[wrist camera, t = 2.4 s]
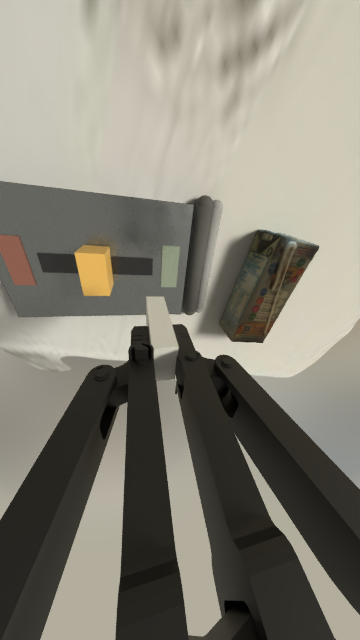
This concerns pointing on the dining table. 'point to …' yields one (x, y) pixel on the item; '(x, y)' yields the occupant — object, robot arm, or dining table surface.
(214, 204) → the grey rounded bar
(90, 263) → the toggle
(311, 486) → the robot arm
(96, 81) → the dining table surface
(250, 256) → the beverage carton
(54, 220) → the breaker panel
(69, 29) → the dining table surface
